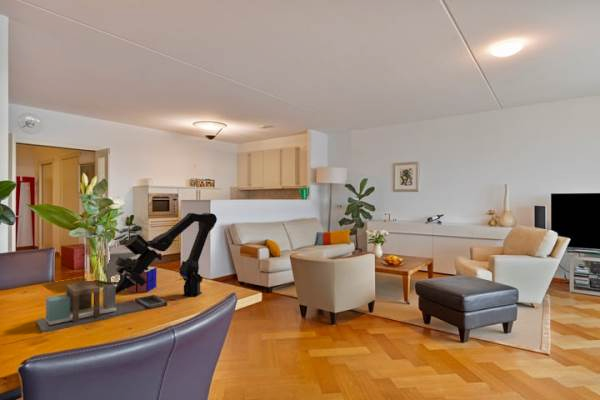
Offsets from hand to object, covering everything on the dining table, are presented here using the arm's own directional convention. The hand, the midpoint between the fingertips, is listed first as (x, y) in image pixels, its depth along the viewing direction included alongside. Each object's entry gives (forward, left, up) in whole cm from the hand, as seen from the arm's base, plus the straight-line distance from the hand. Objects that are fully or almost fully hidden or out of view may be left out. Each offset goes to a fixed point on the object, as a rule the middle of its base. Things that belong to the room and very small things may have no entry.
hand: (114, 293), depth 132 cm
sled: (+6, +9, -6) cm, 12 cm away
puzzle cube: (+8, -31, -8) cm, 32 cm away
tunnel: (+6, +9, -6) cm, 12 cm away
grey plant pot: (+32, -45, -7) cm, 55 cm away
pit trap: (-9, -11, -7) cm, 16 cm away
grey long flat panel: (+4, +6, -7) cm, 10 cm away
